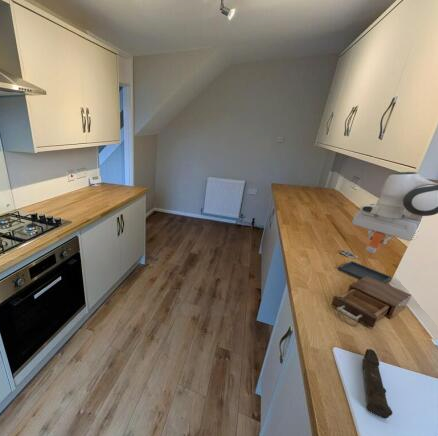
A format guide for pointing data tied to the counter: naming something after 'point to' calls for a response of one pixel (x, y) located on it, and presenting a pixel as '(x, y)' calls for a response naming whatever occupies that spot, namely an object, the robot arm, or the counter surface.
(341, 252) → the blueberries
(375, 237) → the orange and white box
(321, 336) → the counter surface
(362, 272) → the tray
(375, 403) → the dark brown elongated piece
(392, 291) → the cabinet
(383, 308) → the drawer
